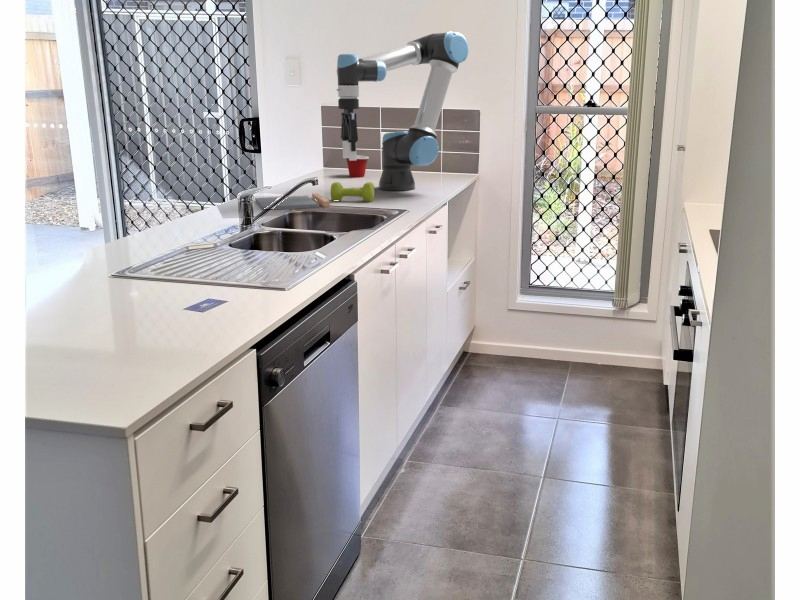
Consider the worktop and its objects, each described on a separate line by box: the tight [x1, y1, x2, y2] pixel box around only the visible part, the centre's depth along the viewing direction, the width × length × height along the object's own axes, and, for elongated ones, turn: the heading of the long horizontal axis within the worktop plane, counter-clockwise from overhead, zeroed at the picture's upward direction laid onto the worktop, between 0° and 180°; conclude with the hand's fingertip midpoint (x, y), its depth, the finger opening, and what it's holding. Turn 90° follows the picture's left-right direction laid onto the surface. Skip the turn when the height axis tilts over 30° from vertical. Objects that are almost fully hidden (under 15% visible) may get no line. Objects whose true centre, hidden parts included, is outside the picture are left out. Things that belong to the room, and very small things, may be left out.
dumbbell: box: [330, 181, 375, 203], centre depth 298 cm, size 16×8×7 cm, turn 83°
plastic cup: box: [345, 154, 370, 179], centre depth 358 cm, size 11×11×12 cm
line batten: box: [311, 192, 330, 208], centre depth 295 cm, size 2×24×2 cm, turn 16°
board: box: [254, 195, 320, 210], centre depth 292 cm, size 20×24×1 cm
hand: (349, 159), depth 294 cm, fingers open, 10 cm apart
